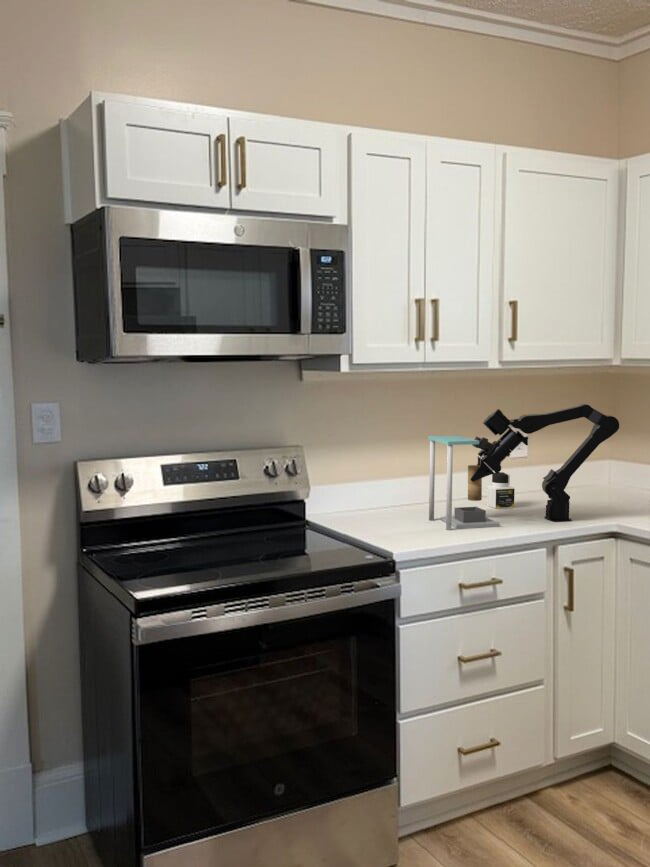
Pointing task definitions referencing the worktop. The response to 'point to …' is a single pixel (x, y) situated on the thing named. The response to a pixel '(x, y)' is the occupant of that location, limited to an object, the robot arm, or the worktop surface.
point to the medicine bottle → (500, 492)
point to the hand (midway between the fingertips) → (470, 479)
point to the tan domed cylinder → (474, 485)
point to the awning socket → (462, 515)
